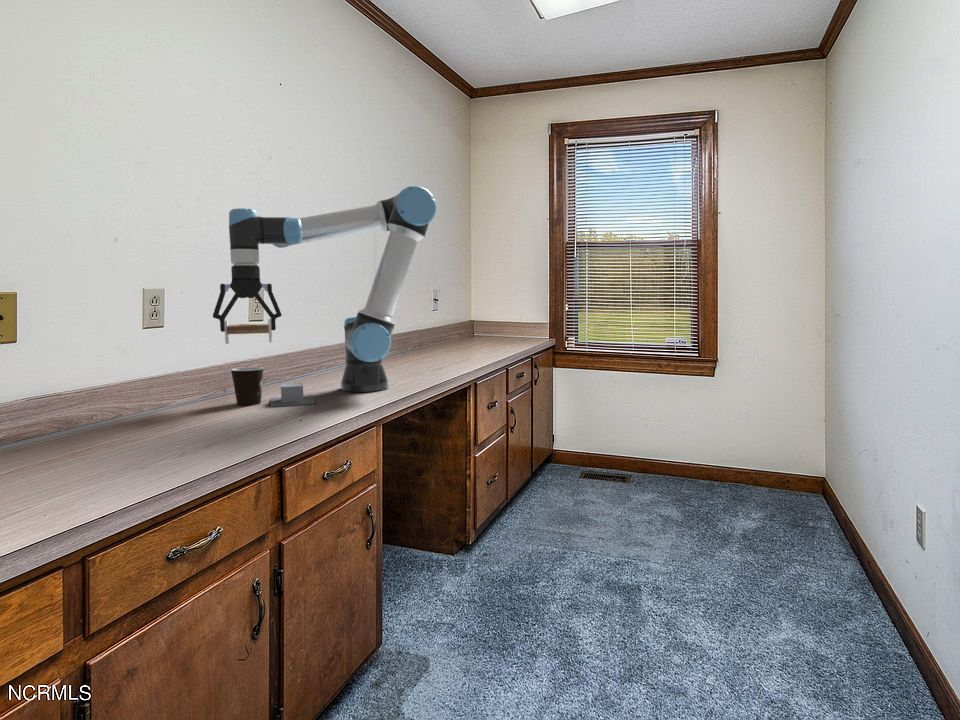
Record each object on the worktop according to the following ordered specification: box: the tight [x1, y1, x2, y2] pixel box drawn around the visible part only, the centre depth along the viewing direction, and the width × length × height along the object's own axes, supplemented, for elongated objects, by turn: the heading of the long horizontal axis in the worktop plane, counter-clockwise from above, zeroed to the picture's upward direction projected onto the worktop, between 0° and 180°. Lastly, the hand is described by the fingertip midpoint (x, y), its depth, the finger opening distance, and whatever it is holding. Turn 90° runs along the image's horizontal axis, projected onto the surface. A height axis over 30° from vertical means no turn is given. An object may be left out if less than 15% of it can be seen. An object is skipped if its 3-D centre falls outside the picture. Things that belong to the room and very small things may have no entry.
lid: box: [226, 323, 269, 335], centre depth 183 cm, size 11×11×2 cm
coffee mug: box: [230, 366, 264, 407], centre depth 185 cm, size 12×9×10 cm
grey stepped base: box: [269, 382, 316, 408], centre depth 185 cm, size 12×12×5 cm
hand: (249, 342), depth 184 cm, fingers closed on lid, 11 cm apart
